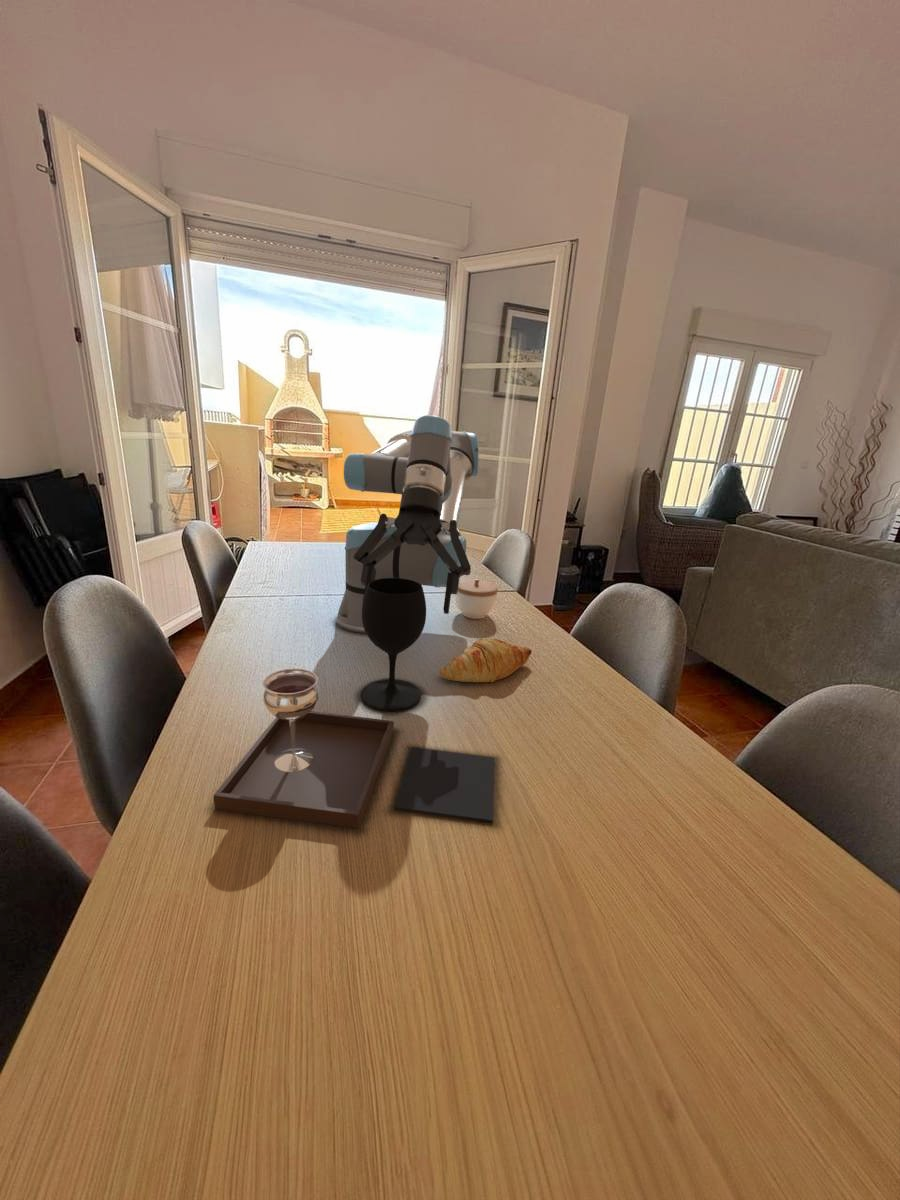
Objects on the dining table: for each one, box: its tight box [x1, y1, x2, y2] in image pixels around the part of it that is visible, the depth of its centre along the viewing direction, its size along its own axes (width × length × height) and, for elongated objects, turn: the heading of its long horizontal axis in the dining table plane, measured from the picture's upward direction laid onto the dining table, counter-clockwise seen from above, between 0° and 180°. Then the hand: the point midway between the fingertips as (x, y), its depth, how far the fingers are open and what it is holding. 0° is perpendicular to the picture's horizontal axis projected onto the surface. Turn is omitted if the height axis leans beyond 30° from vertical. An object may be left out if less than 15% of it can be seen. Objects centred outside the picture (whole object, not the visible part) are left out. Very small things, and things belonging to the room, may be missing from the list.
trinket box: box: [454, 578, 499, 619], centre depth 122 cm, size 11×11×9 cm
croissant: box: [439, 637, 532, 683], centre depth 93 cm, size 21×10×8 cm, turn 123°
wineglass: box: [262, 668, 320, 772], centre depth 63 cm, size 7×7×12 cm
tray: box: [213, 710, 395, 829], centre depth 65 cm, size 19×17×2 cm
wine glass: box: [360, 578, 427, 713], centre depth 80 cm, size 10×10×20 cm
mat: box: [393, 746, 495, 824], centre depth 64 cm, size 12×12×1 cm
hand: (406, 607), depth 81 cm, fingers open, 13 cm apart
